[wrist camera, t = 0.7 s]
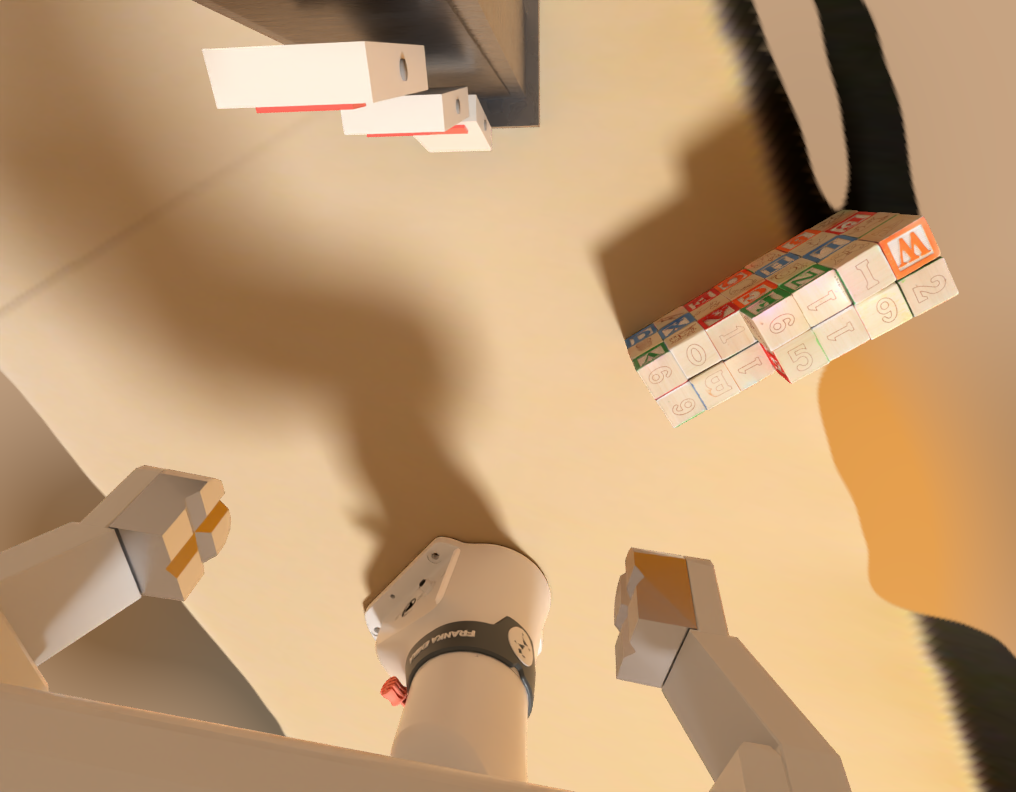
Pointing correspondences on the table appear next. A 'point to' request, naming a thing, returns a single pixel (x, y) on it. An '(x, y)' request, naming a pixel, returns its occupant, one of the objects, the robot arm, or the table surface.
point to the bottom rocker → (462, 133)
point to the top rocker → (314, 75)
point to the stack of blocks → (792, 310)
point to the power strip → (424, 41)
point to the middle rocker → (409, 114)
